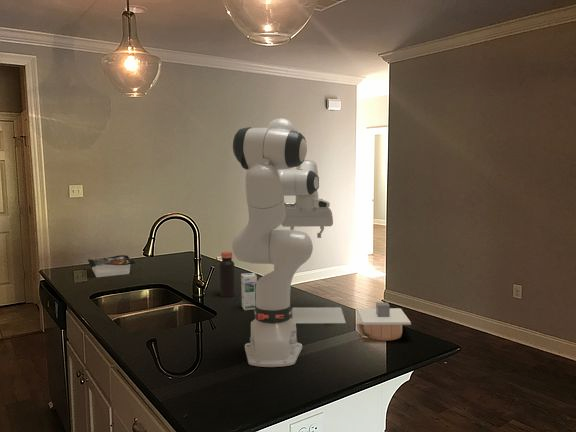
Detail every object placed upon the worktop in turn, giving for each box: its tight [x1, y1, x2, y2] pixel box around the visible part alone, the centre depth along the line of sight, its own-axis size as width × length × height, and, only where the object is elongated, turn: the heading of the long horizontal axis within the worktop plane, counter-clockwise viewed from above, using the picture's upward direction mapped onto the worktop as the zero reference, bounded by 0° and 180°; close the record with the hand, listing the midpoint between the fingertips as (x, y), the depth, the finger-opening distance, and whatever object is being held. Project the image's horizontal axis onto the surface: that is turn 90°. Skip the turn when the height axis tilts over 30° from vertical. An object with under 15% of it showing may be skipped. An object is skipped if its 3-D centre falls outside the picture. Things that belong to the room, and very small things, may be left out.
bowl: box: [363, 325, 403, 342], centre depth 171 cm, size 13×13×6 cm
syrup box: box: [240, 272, 258, 311], centre depth 203 cm, size 6×6×14 cm
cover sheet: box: [356, 301, 412, 326], centre depth 170 cm, size 16×16×5 cm
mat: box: [291, 306, 347, 324], centre depth 190 cm, size 20×20×1 cm
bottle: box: [219, 251, 236, 298], centre depth 223 cm, size 7×7×20 cm
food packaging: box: [87, 254, 136, 278], centre depth 274 cm, size 25×8×23 cm
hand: (307, 237), depth 190 cm, fingers open, 8 cm apart
